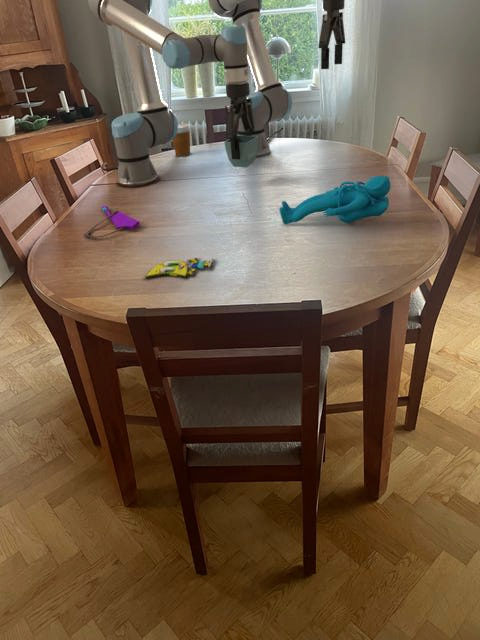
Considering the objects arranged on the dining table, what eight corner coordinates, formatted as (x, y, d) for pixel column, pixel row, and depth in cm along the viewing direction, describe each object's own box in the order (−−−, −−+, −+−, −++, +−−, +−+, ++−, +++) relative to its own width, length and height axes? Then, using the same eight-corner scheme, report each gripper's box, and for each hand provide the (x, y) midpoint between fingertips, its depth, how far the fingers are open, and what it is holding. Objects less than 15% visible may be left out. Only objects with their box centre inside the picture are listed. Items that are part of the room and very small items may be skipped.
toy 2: (283, 190, 142) (387, 164, 132) (292, 223, 147) (393, 200, 137) (274, 211, 129) (390, 183, 118) (285, 246, 134) (396, 223, 124)
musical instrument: (112, 245, 135) (156, 212, 147) (109, 239, 134) (154, 206, 146) (58, 238, 148) (103, 208, 160) (55, 232, 147) (101, 202, 159)
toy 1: (206, 274, 112) (144, 275, 114) (207, 278, 112) (145, 278, 115) (214, 255, 120) (156, 256, 123) (214, 258, 121) (157, 259, 123)
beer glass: (168, 157, 212) (164, 128, 205) (178, 151, 219) (174, 123, 212) (187, 157, 208) (183, 128, 202) (197, 151, 216) (193, 123, 209)
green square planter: (248, 170, 161) (246, 142, 156) (226, 168, 165) (223, 141, 160) (260, 162, 168) (258, 136, 163) (238, 161, 172) (236, 135, 167)
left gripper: (231, 88, 143) (237, 164, 155) (262, 77, 158) (266, 148, 171) (209, 88, 146) (217, 163, 158) (242, 77, 162) (247, 147, 174)
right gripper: (330, -4, 153) (329, 70, 165) (355, -6, 171) (352, 61, 182) (308, -2, 156) (308, 71, 168) (335, -4, 174) (333, 62, 186)
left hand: (242, 155), depth 164 cm, fingers closed on green square planter, 9 cm apart
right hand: (331, 66), depth 175 cm, fingers open, 13 cm apart
